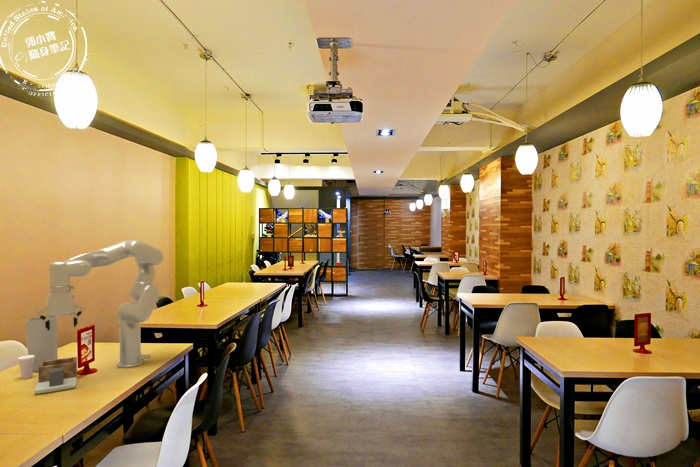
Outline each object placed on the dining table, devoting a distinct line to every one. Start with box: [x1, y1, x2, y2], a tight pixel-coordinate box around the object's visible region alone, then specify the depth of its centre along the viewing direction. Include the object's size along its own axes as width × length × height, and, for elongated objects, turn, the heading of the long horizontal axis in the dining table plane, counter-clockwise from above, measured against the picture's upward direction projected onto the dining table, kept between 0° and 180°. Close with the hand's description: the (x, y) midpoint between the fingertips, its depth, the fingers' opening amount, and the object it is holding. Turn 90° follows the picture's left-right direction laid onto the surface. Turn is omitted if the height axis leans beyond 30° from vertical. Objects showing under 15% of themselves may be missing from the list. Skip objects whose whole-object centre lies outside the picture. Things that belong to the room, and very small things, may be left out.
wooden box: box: [38, 356, 78, 383], centre depth 198 cm, size 14×11×8 cm
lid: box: [34, 367, 78, 395], centre depth 186 cm, size 14×11×8 cm
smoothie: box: [17, 347, 35, 380], centre depth 201 cm, size 6×6×14 cm
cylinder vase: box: [25, 315, 59, 373], centre depth 214 cm, size 12×12×25 cm
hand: (61, 328), depth 191 cm, fingers open, 9 cm apart
